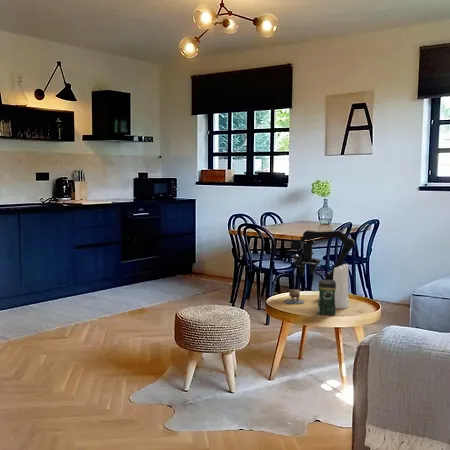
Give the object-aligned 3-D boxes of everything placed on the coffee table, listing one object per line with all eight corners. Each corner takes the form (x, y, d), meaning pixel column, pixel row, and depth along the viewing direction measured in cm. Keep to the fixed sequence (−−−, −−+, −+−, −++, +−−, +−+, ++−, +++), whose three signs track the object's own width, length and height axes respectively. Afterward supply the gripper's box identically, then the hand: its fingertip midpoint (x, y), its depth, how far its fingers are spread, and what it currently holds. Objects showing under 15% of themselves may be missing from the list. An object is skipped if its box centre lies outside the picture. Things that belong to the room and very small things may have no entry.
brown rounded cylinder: (301, 301, 331) (301, 290, 330) (295, 302, 326) (295, 291, 326) (293, 299, 335) (293, 288, 334) (287, 300, 331) (287, 290, 330)
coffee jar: (334, 312, 307) (335, 278, 306) (336, 315, 300) (337, 281, 298) (316, 311, 308) (317, 278, 306) (318, 315, 300) (319, 281, 299)
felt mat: (308, 302, 331) (308, 301, 331) (296, 305, 322) (296, 304, 322) (292, 298, 339) (292, 297, 339) (280, 301, 331) (280, 300, 330)
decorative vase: (327, 306, 319) (328, 263, 317) (332, 303, 329) (334, 261, 326) (345, 309, 314) (347, 265, 312) (350, 305, 324) (352, 263, 321)
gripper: (306, 248, 355) (305, 272, 356) (287, 250, 342) (287, 275, 343) (320, 250, 347) (319, 274, 349) (302, 252, 334) (301, 278, 335)
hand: (306, 275), depth 344 cm, fingers open, 9 cm apart
